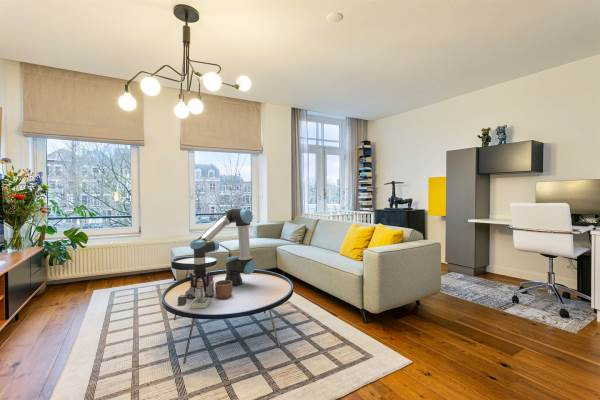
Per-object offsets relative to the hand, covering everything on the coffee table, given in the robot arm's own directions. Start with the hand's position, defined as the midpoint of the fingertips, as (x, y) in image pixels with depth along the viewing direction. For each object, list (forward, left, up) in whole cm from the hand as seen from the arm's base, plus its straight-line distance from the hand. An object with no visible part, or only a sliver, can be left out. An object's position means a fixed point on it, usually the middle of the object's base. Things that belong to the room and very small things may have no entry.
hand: (200, 296), depth 198 cm
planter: (-13, -16, -7) cm, 21 cm away
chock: (+13, -4, -6) cm, 15 cm away
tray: (0, 0, -6) cm, 6 cm away
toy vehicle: (+5, -17, -7) cm, 19 cm away
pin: (+1, 0, -4) cm, 4 cm away
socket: (0, -8, -6) cm, 10 cm away
